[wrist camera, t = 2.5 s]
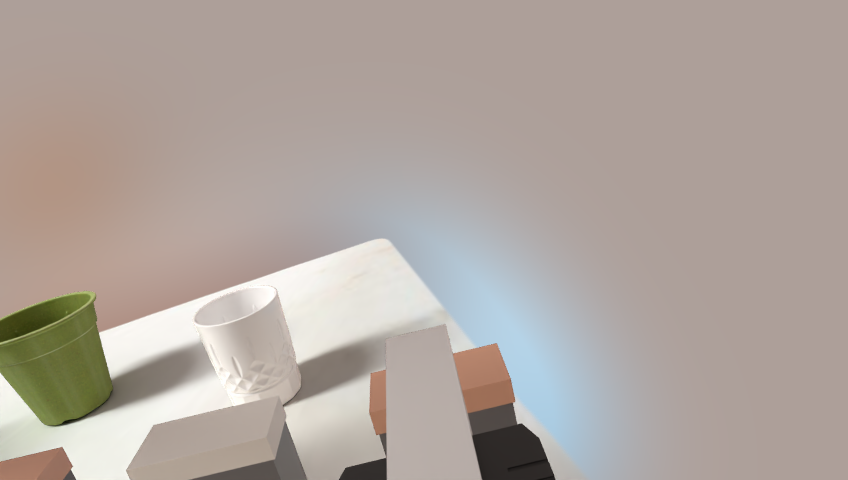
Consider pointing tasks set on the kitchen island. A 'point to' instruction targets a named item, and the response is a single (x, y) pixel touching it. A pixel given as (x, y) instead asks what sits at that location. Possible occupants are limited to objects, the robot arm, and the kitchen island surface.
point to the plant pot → (56, 357)
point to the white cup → (250, 344)
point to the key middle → (221, 446)
